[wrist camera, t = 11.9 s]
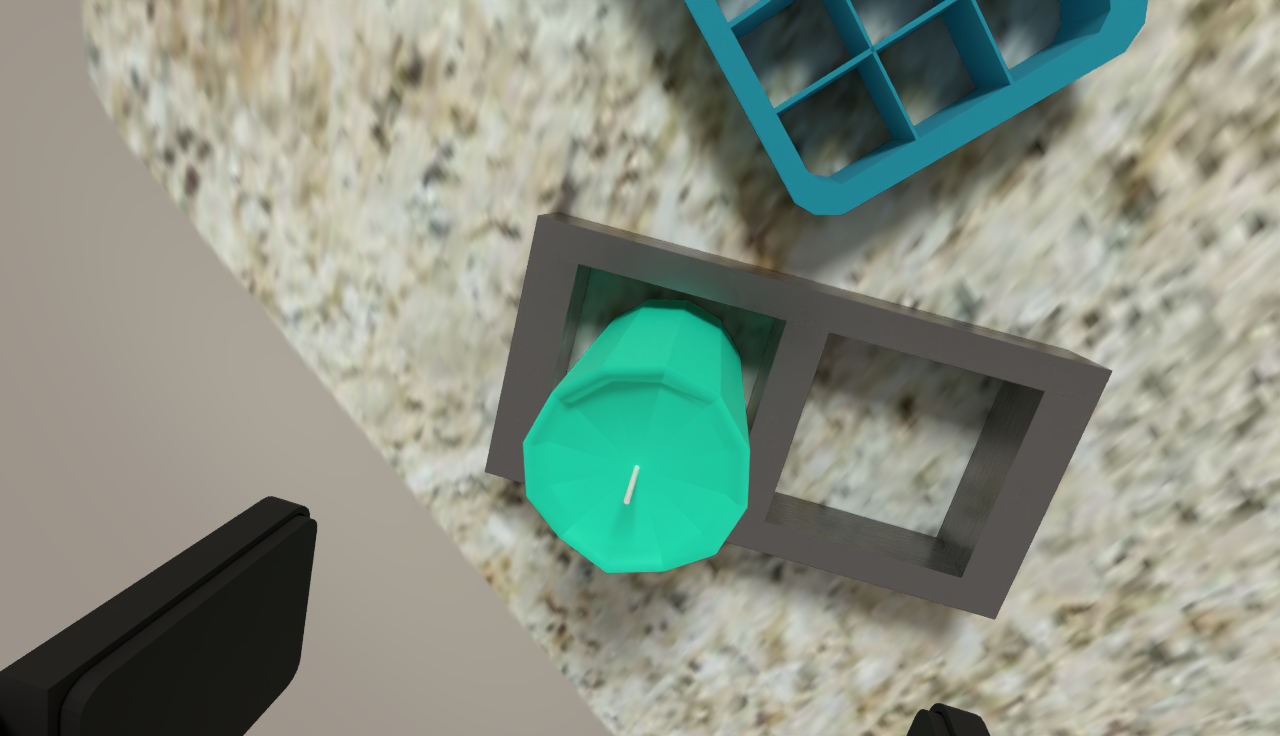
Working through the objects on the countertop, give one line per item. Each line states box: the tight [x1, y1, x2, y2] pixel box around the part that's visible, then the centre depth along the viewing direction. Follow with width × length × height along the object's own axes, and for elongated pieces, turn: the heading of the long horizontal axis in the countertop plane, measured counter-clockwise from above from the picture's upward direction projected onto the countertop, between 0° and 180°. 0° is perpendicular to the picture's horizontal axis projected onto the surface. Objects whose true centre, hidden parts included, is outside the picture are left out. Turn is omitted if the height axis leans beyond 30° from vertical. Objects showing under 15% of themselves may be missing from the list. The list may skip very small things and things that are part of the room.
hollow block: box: [485, 213, 1112, 619], centre depth 26 cm, size 20×10×3 cm, turn 76°
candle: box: [523, 299, 750, 573], centre depth 22 cm, size 6×6×12 cm
